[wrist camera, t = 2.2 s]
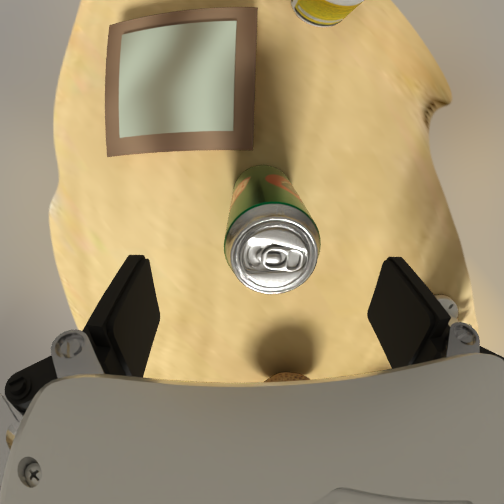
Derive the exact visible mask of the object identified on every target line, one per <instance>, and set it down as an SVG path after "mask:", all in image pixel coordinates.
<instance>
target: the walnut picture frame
mask: <svg viewBox="0 0 504 504" xmlns="http://www.w3.org/2000/svg"><path fill="white" fill-rule="evenodd" d="M257 10H258V8H255V7H224V8H205V9H193V10H184V11H176V12H169V13H162V14H157V15H151V16H146V17H141V18H136V19H132V20H128V21H124V22H120V23H116V24H113V25H110V26H109V35H108V45H107V58H106V77H105V125H106V145H107V157H112V156H120V155H130V154H141V153H154V152H170V151H193V150H253V134H254V101H255V70H256V39H257Z"/></svg>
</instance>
